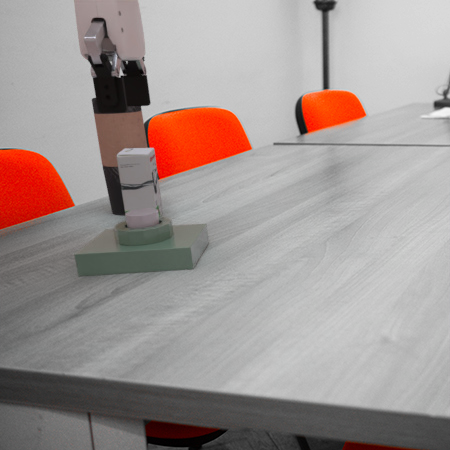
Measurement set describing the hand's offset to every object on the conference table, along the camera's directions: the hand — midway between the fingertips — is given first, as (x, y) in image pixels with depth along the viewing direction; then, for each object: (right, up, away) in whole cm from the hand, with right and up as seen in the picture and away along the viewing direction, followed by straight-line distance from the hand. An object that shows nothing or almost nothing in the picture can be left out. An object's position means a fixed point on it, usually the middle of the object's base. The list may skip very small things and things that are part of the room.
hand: (126, 108), depth 72 cm
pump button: (0, -15, +4) cm, 16 cm away
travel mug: (-14, -12, +31) cm, 36 cm away
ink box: (-8, -14, +25) cm, 30 cm away
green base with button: (0, -19, +6) cm, 20 cm away
